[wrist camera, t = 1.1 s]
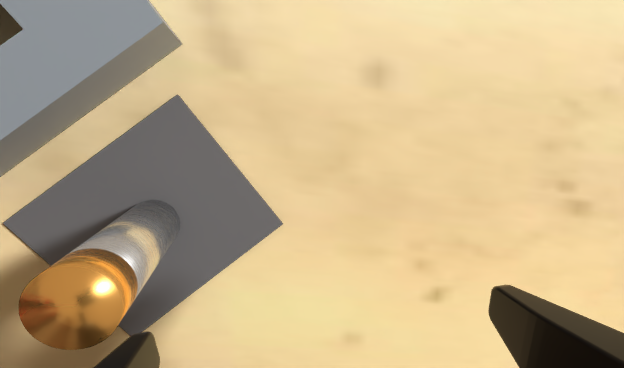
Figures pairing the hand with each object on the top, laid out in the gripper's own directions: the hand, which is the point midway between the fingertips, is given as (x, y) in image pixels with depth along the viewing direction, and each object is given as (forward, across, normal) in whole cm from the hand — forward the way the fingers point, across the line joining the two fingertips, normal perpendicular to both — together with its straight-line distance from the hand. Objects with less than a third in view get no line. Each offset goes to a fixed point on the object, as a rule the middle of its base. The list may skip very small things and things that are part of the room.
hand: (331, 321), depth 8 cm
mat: (+12, +9, +2) cm, 15 cm away
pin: (+12, +9, +2) cm, 15 cm away
